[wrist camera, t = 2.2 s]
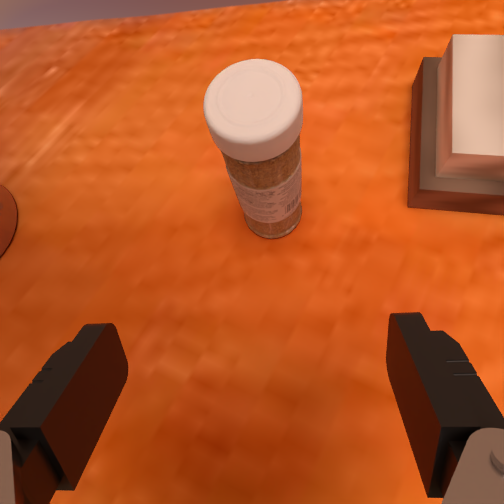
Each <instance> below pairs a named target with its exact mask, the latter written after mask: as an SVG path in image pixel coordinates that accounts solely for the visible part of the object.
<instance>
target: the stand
mask: <svg viewBox="0 0 504 504" xmlns="http://www.w3.org/2000/svg"><path fill="white" fill-rule="evenodd" d="M408 207H412V208H424V209H436V210H447V211H459V212H471V213H483V214H495V215H504V35H457V34H453V35H452V37H451V40H450V42H449V44H448V46H447V48H446V51H445V53H444V55H443V57H442V58H438V57H423V60H422V63H421V65H420V68H419V70H418V73H417V75H416V78H415V80H414V83H413V86H412V111H411V136H410V161H409V186H408Z"/></svg>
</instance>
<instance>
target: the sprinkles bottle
mask: <svg viewBox="0 0 504 504" xmlns="http://www.w3.org/2000/svg"><path fill="white" fill-rule="evenodd" d="M204 115H205V119H206V122H207V125H208V128H209V130H210V133H211V136H212V138H213V140H214V142H215V144H216V145H217V147H218V148H219V149H220V150H221V152H222V154H223V157H224V160H225V163H226V169H227V172H228V174H229V177H230V179H231V182H232V184H233V187H234V190H235V192H236V195H237V198H238V200H239V203H240V205H241V207H242V209H243V211H244V216H245V220H246V222H247V224H248V226H249V228H250V229H251V230H252V231H253V232H254V233H256V234H257V235H259V236H261V237H264V238H269V239H271V238H279V237H283V236H285V235H287V234H289V233H290V232H292V231H293V229H294V228H295V227H296V226H297V224H298V223H299V221H300V218H301V214H302V207H301V201H300V199H301V149H300V136H299V135H300V132H301V128H302V124H303V101H302V92H301V88H300V85H299V83H298V81H297V79H296V77H295V76H294V75H293V74H292V72H290V71H289V70H288V69H287V68H286V67H284V66H282V65H281V64H279V63H276V62H273V61H270V60H265V59H250V60H245V61H241V62H238V63H235V64H233V65H231V66H229V67H227V68H226V69H224V70H223V71H221V72H220V73H219V74H218V75H217V76H216V77H215V78H214V79H213V81H212V82H211V84H210V85H209V87H208V89H207V91H206V94H205V97H204Z"/></svg>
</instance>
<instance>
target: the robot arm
mask: <svg viewBox="0 0 504 504" xmlns="http://www.w3.org/2000/svg"><path fill="white" fill-rule="evenodd" d="M16 223H17V210H16V205H15V201H14V199H13V197H12V195H11V194H10V192H9V191H8V190H7V189H6V188H5V187H3V186H2V185H0V256H1V255H2V254H3V252H4V251H5V249H6V248H7V246H8V245H9V243H10V241H11V239H12V236H13V234H14V231H15V227H16ZM386 364H387V371H388V376H389V380H390V383H391V386H392V389H393V392H394V395H395V398H396V401H397V404H398V408H399V411H400V414H401V417H402V420H403V423H404V426H405V429H406V432H407V435H408V438H409V442H410V445H411V448H412V451H413V454H414V457H415V460H416V463H417V466H418V469H419V472H420V475H421V479H422V482H423V485H424V488H425V491H426V494H427V497H428V498H444V499H443V501H442V504H504V417H503V416H502V414H501V412H500V411H499V409H498V407H497V406H496V404H495V402H494V401H493V399H492V397H491V396H490V394H489V392H488V391H487V389H486V387H485V386H484V384H483V382H482V381H481V379H480V377H479V376H477V373H476V371H475V369H474V368H473V366H472V364H471V363H469V359H468V358H467V356H466V354H465V353H464V351H463V349H462V348H461V346H460V344H459V343H458V342H456V341H455V340H454V339H453V338H451V337H450V336H449V335H448V334H446V333H445V332H444V331H430V329H429V327H428V325H427V323H426V322H425V320H424V318H423V316H422V314H421V313H419V312H413V313H391V314H390V317H389V326H388V339H387V351H386ZM127 376H128V362H127V359H126V356H125V353H124V350H123V347H122V344H121V341H120V338H119V335H118V332H117V329H116V327H115V325H114V324H112V323H101V324H86V325H84V326H83V327H82V329H81V330H80V331H79V333H78V334H77V336H76V337H75V338H74V340H73V341H72V342H67V343H66V344H65V345H64V346H62V347H61V348H60V349H59V350H57V351H56V352H55V353H53V354H52V355H51V357H50V358H49V359H48V361H47V362H46V363H45V365H44V366H43V367H42V371H39V373H38V374H37V375H36V376H35V378H34V379H33V380H32V381H33V382H32V384H29V386H28V387H27V388H26V390H25V391H24V392H23V393H22V395H21V396H20V397H19V399H18V400H17V401H16V403H15V404H14V405H13V407H12V408H11V409H10V411H9V412H8V413H7V414H6V416H5V417H4V418H3V420H2V421H1V422H0V504H50V501H51V499H52V497H53V495H54V493H55V491H56V490H72V491H74V490H75V488H76V486H77V484H78V482H79V479H80V477H81V475H82V473H83V471H84V469H85V467H86V465H87V463H88V461H89V458H90V456H91V454H92V452H93V450H94V448H95V446H96V444H97V442H98V440H99V437H100V435H101V433H102V431H103V429H104V427H105V425H106V423H107V421H108V419H109V417H110V414H111V412H112V410H113V408H114V406H115V404H116V402H117V400H118V398H119V396H120V393H121V391H122V389H123V387H124V385H125V383H126V380H127Z"/></svg>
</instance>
